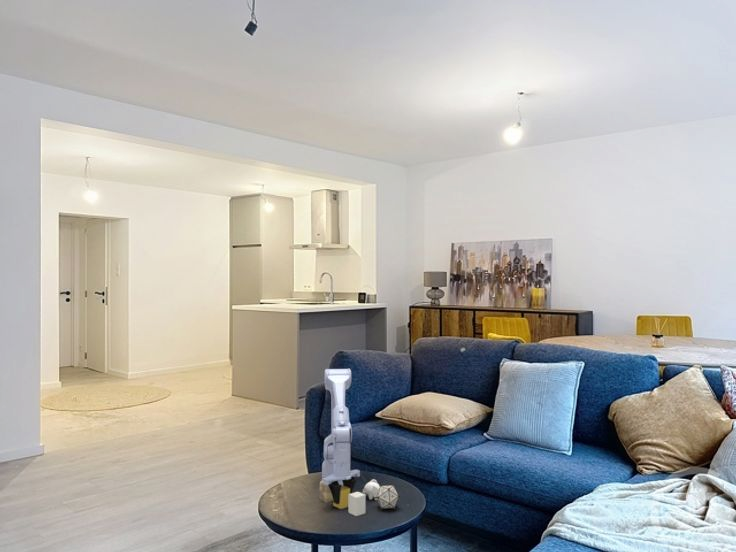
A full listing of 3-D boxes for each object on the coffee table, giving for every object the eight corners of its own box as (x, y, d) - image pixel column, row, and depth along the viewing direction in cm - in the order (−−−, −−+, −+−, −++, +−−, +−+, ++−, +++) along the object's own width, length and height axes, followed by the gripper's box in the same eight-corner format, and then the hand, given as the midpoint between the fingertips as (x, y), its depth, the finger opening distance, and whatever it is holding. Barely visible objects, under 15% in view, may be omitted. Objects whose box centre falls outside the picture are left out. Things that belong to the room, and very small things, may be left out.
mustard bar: (333, 505, 192) (333, 487, 192) (342, 502, 195) (342, 485, 195) (340, 509, 189) (340, 491, 189) (350, 506, 192) (350, 488, 192)
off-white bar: (348, 512, 186) (348, 494, 186) (357, 509, 189) (357, 491, 189) (356, 516, 183) (356, 497, 183) (365, 513, 186) (365, 494, 186)
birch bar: (319, 499, 198) (319, 482, 198) (328, 496, 201) (328, 479, 201) (326, 502, 195) (326, 484, 195) (335, 499, 198) (335, 482, 198)
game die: (390, 522, 188) (394, 504, 182) (368, 509, 191) (371, 492, 185) (402, 501, 195) (406, 483, 189) (380, 489, 197) (383, 472, 192)
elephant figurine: (364, 494, 203) (364, 477, 203) (386, 496, 201) (386, 479, 201) (359, 500, 197) (359, 483, 197) (381, 503, 194) (381, 485, 195)
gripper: (332, 468, 185) (332, 510, 184) (365, 459, 194) (365, 499, 194) (319, 463, 190) (319, 504, 190) (352, 455, 200) (352, 494, 199)
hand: (341, 501), depth 192 cm, fingers closed on mustard bar, 4 cm apart
